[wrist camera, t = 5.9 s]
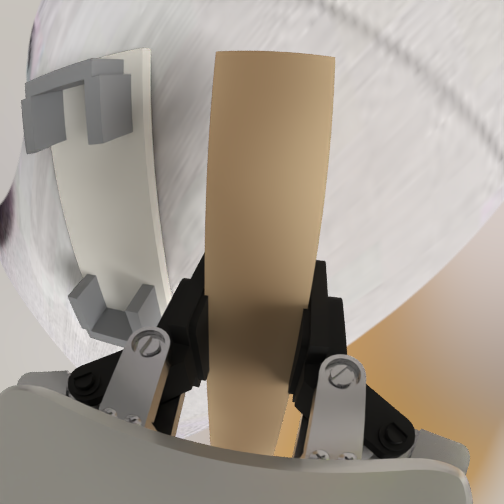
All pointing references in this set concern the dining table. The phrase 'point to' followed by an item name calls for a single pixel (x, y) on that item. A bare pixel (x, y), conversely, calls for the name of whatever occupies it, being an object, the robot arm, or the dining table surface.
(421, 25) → the dining table surface
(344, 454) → the robot arm
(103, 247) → the mounting board
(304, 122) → the slat
